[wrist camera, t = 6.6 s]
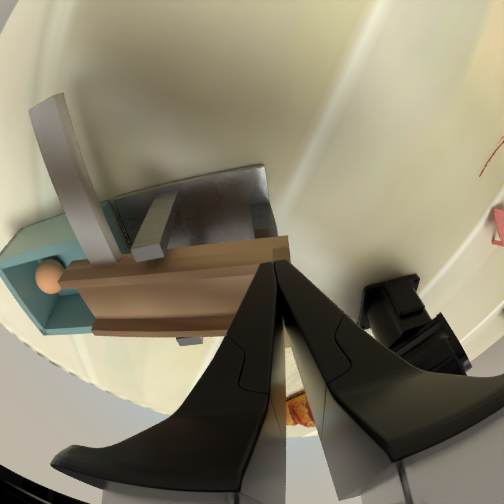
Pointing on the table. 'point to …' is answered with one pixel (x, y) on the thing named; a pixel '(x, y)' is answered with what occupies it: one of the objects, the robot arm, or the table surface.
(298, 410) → the croissant
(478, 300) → the table surface
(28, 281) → the bin
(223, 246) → the lever
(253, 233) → the stand
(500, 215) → the figurine
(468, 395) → the robot arm
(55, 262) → the ball
